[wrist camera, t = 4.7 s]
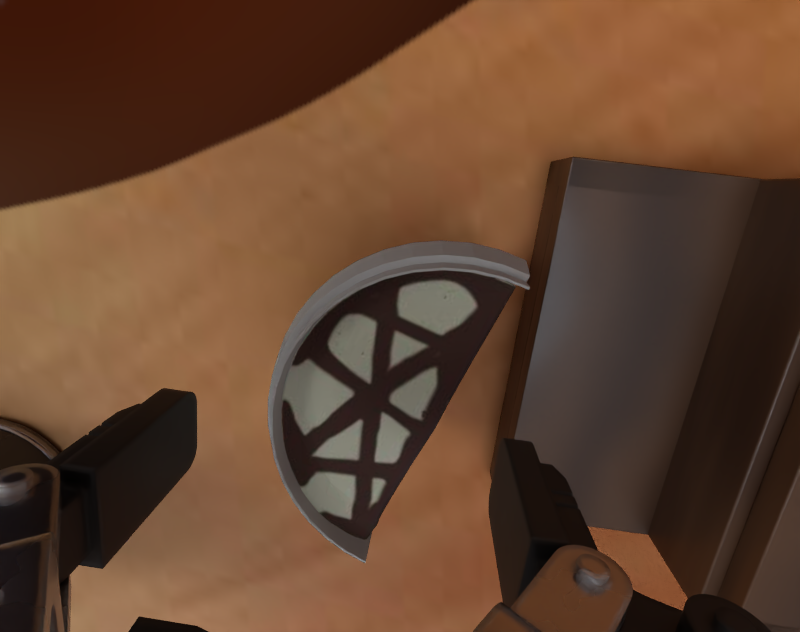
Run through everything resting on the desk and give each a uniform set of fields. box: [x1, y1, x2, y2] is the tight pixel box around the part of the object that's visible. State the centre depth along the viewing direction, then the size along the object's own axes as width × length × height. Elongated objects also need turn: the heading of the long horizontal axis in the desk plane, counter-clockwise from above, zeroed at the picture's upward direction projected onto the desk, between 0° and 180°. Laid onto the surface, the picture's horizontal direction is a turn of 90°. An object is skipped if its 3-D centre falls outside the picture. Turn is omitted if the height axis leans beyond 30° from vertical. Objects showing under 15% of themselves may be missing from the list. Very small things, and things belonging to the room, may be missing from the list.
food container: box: [268, 241, 530, 563], centre depth 20 cm, size 12×6×10 cm, turn 154°
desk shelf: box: [490, 157, 800, 632], centre depth 20 cm, size 16×17×9 cm
